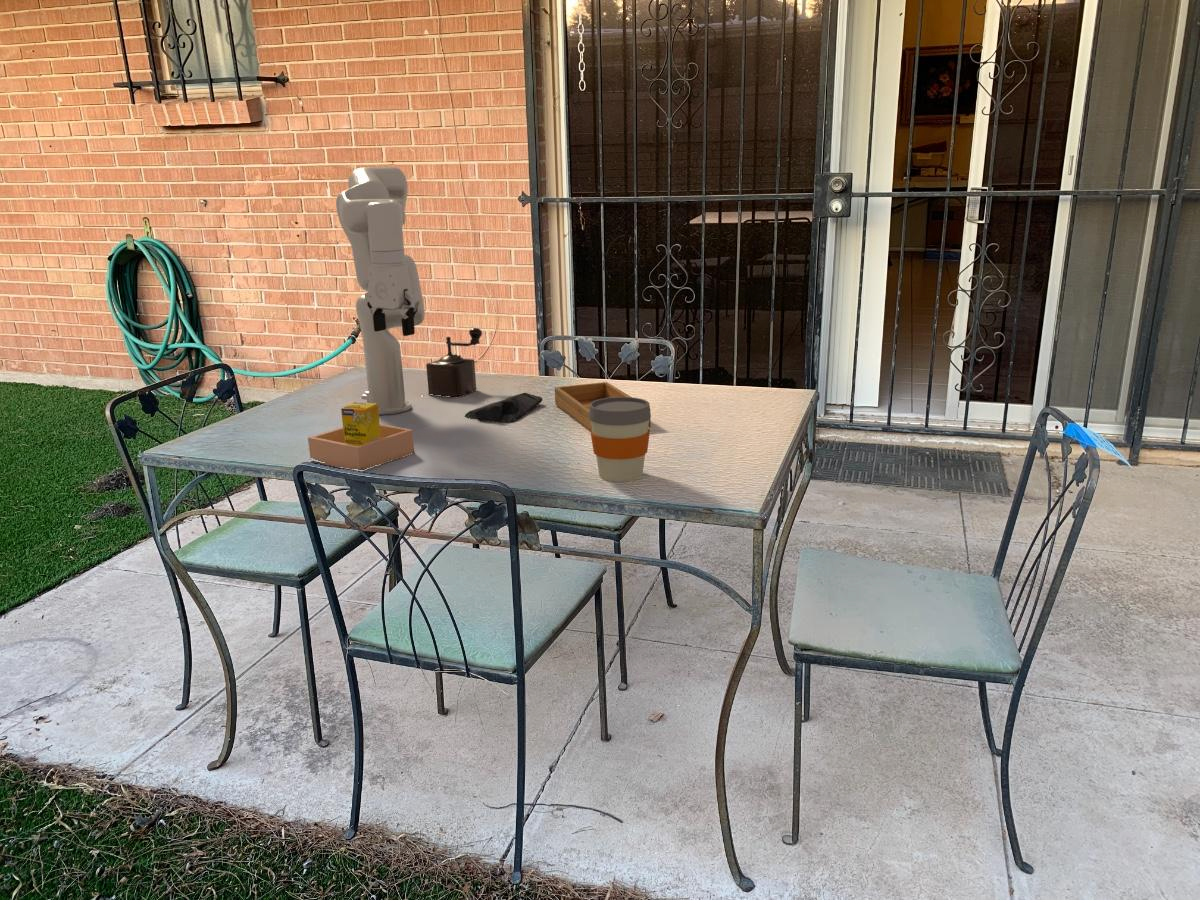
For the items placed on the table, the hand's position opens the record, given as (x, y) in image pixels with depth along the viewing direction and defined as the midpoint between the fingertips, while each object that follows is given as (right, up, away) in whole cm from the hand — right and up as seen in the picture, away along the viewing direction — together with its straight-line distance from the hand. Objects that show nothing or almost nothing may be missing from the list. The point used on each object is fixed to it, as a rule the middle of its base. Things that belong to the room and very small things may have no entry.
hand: (394, 332), depth 204 cm
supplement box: (-5, -28, -8) cm, 30 cm away
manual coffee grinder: (+6, -10, +54) cm, 55 cm away
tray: (+48, -19, +23) cm, 56 cm away
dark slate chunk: (+23, -18, +30) cm, 41 cm away
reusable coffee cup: (+52, -33, -24) cm, 66 cm away
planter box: (-5, -29, -8) cm, 30 cm away
